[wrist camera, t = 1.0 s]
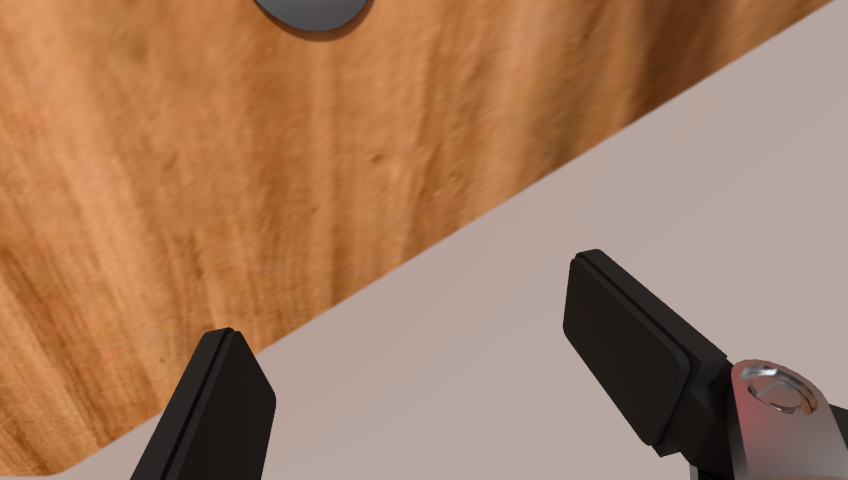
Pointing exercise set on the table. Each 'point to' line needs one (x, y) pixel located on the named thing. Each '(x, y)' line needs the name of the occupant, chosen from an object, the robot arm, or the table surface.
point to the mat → (313, 12)
